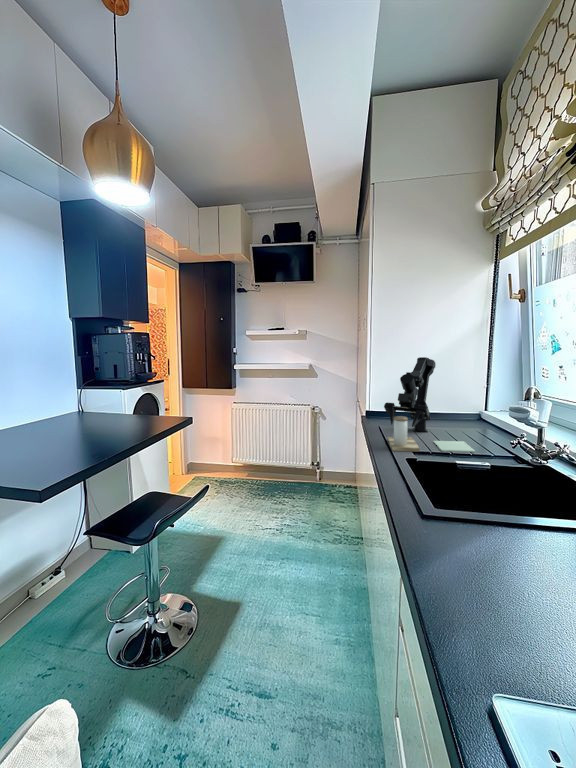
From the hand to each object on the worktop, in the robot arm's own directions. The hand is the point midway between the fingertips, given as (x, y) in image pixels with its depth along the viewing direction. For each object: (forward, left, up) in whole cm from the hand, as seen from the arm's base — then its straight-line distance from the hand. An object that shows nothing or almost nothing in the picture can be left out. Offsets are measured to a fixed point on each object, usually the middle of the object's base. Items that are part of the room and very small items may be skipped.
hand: (401, 425), depth 142 cm
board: (-1, +1, -10) cm, 10 cm away
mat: (-1, +22, -10) cm, 24 cm away
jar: (+2, -1, -8) cm, 8 cm away
